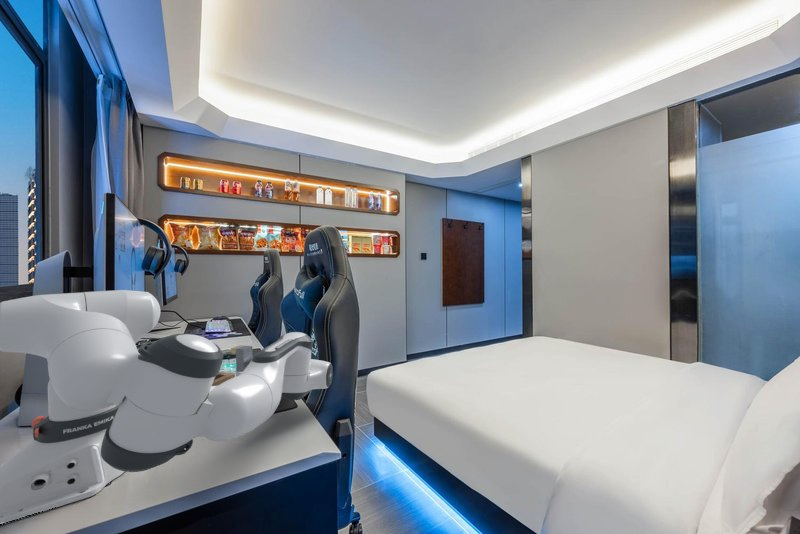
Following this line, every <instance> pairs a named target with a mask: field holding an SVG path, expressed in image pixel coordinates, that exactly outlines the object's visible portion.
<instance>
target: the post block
mask: <svg viewBox="0 0 800 534" xmlns="http://www.w3.org/2000/svg"><path fill="white" fill-rule="evenodd" d="M234 377H236V372H235V373H234V372H222V371H219V374H218V375H217V376H215V379H214V381H213V384H212V386H218V385H220V384H222V383H224V382H225V381H227V380H229V379H231V378H234Z"/></svg>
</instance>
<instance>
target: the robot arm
mask: <svg viewBox="0 0 800 534" xmlns="http://www.w3.org/2000/svg"><path fill="white" fill-rule="evenodd" d="M161 310H162V309H161V306H160V302H159V301H158V299H157V298H156V297H155V295H153V294H152V293H150V292H149V291H143V290H130V289H117V290H116V289H115V290H100V291H82V292H67V293H65V292H64V293H49V294H48V293H47V294H37V295H31V296H25V297H20V298H15V299H9V300H4V301H1V302H0V352H3V353H19V354H20V353H21V354H28V355H33V356H34V355H35V356H38V357H42V358H44V359H46V360H47V361H46V362H47V370H48V377H49V380H48V383H47V406H48V410H47V411H48V415H47V416H45V415H39V416H36V417H34V419H32V420H31V421H32V423H31V427H32V429H33V430H32V435H33V436H32V437H33V440H32V441H31V442H29V443H28V444H27V445H25V446H24V447H23V448H22V449H21V450H19V451H18V452H17V453H15V454H14V455H12V456H11V457H10V458H9V459H7V460H6V461H5V462H4V463H3V464H1V465H0V523H1V522H7V521H11V520H15V519H18V518H21V517H23V516H27V515H30V514H34V513H37V514H39V513H38V512H40V513H43V512H46V511H49V509H50V510H52V508H53V509H56V508H58V507H62V506H66V505H68V504H72V503H74V502H78V501H81V500H85V499H88V498H90V497H92V496H95V495H97V494H98V493H99V492H100V491H101V490H103V489H104V488H105V486H106V485H108V484H109V483H110V482H112V481H113V480H115V479H117V478H119V477H120V476H121V475H123V473H125V472H127V473H139V472H144V471H149V470H151V469H153V468H156V467H159V466H161V465H163V464H164V465H165V464H166V463H167V462H169V461H171V459H173V458H174V457H177V456H182V455H185V454H186V453H187V452H188V451H189V450H190V449H191V448H192V446H193V443H194V439H196V438H205V439H207V440H209V441H212V442H226V441H229V440H234V439H237V438H240V437H241V436H244V435H246V434H248V433H250V432H252V431H253V430H255V429H257V428H258V427H260V426H261V425H262V424H264V423H266V421H268V420H269V419H270V418H271V417H272V416H273V414H275V411H277V409H278V406H279V405H280V402H281V400H289V401H299V400H302V399H304V397H305V396H307V395H308V394H309V393H310V392H311V390H321V389H324V390H325V389H328V388H330V386H331V384H332V381H333V375H334V371H333V370H334V369H333V364H332V363H331V362H330V361H325V360H319V359H315V358H314V359H313V358H312V351H313V347H314V346H313V345H314V341H313V340H312V338H311V337H310V336H309V335H308V334H307V333H304V332H299V331H292V332H288V333H284V334H282V335H281V336H280V337H279V338H278V339H277V340H276V341H274V342H272V343H271V344H269V345H267V346H265V347H264V348H263V349H261V350H259V351H258V352H256V353H255V355H254V356H253V359H252V361H251V362H250V363H249V365H248V366H247V367H246V368H245V370H244V371H239V372H235V377H234V378H231V379H229V380H227V381H225V382H224V383H222V384H220V385H218V386H212V384H213V381H214V379H215V376H217V375H218V374H219V372H221V367H222V366H223V365H222V364H223V361H224V353H223V351H222V350H221V347H220V346H219V345H218V344H216V343H214V342H213V341H211V340H210V339H208V338H206V337H204V336H201V335H197V334H191V333H175V334H170V335H168V336H164V337H161V338H159V339H157V340H155V341H148V342H145V343H144V344H142V345H141V346H139V347H137V345H136V344H137V343H138V342H139V341H140V340H141V339H142V338H143V337H144V336H145V335H147V334H148V333H149V332H151V331H152V330H153V329H154V328H155V327H156V326H157V324H158V323H159V320H160V316H161V312H162V311H161ZM55 507H56V508H55ZM42 511H43V512H42ZM34 515H35V514H34ZM27 517H28V516H27ZM21 519H22V518H21ZM18 520H19V519H18ZM15 521H16V520H15Z"/></svg>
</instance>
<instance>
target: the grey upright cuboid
mask: <svg viewBox="0 0 800 534" xmlns="http://www.w3.org/2000/svg"><path fill="white" fill-rule="evenodd" d="M230 354H235V363H236V364H235V368H236V370H235V371H236V372H239V371H244V370H245V368H246V367H247V366H248V365H249V363H250V362H251V361H252V359H253V357H254V356H253V346H252V345H242V344H241V345H239V344H238V345H237V346H234V347H230ZM236 372H235V373H236Z"/></svg>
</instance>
